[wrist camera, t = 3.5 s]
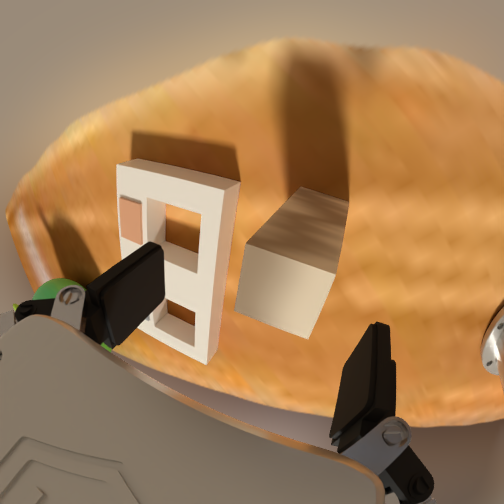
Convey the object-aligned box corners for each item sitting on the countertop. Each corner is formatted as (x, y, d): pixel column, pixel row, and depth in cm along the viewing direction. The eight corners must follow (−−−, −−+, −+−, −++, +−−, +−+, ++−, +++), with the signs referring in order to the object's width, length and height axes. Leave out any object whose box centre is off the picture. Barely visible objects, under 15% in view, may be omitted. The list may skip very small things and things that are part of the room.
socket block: (240, 181, 22) (222, 191, 20) (217, 349, 34) (205, 366, 31) (137, 158, 25) (114, 165, 23) (145, 312, 37) (131, 326, 34)
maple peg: (349, 202, 20) (336, 274, 11) (334, 246, 22) (308, 339, 13) (300, 186, 21) (245, 243, 12) (289, 231, 23) (234, 310, 14)
